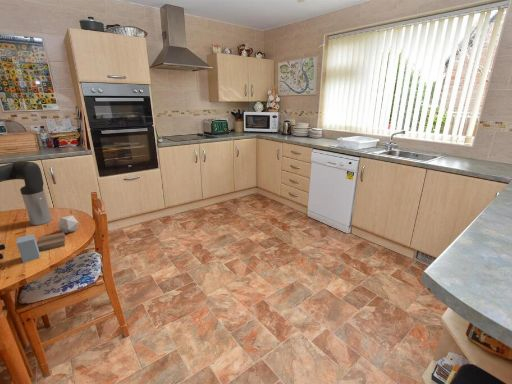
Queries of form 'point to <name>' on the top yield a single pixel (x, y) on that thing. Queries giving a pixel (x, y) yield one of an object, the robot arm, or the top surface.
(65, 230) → the die
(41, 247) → the walnut base
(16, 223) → the top surface
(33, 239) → the gray block
